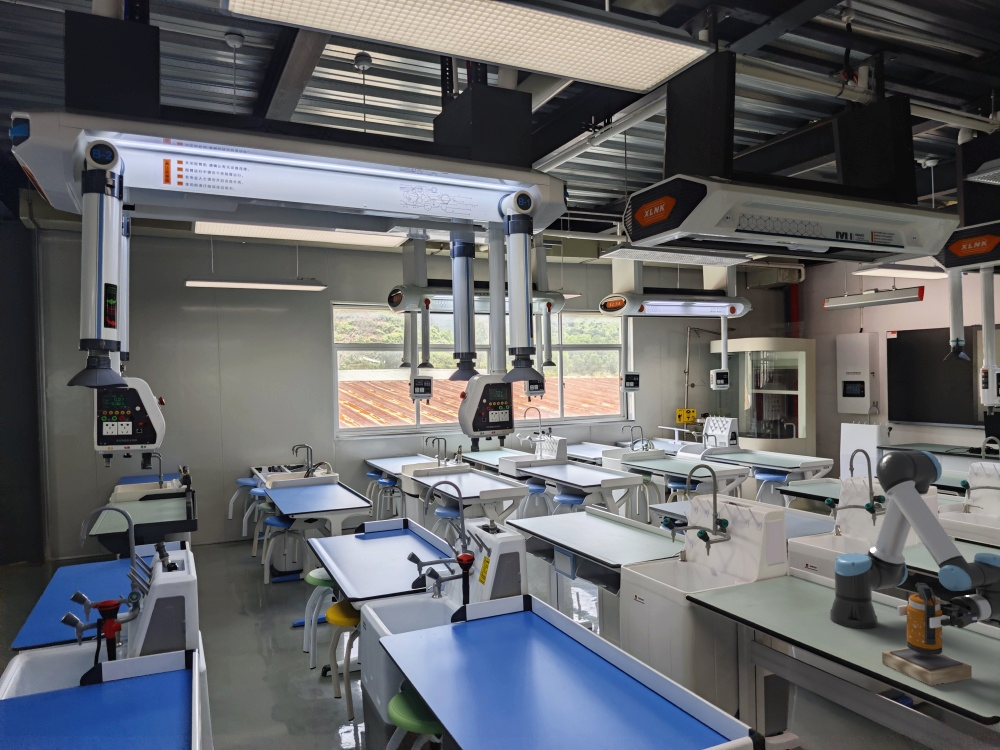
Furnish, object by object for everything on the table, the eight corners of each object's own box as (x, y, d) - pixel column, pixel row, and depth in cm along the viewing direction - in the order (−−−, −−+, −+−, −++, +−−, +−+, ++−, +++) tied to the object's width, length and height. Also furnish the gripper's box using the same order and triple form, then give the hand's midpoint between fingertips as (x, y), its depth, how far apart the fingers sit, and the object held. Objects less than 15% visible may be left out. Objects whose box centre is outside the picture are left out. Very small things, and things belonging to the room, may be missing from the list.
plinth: (882, 663, 203) (882, 650, 203) (921, 656, 208) (921, 643, 208) (930, 686, 188) (930, 671, 188) (971, 678, 193) (971, 664, 193)
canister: (936, 646, 202) (935, 580, 202) (949, 661, 192) (949, 592, 191) (902, 643, 205) (902, 578, 204) (914, 658, 194) (914, 590, 194)
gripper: (1007, 634, 193) (950, 643, 186) (934, 609, 215) (881, 616, 208) (1006, 608, 193) (950, 617, 186) (934, 585, 215) (881, 592, 208)
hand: (914, 616), depth 197 cm, fingers closed on canister, 10 cm apart
